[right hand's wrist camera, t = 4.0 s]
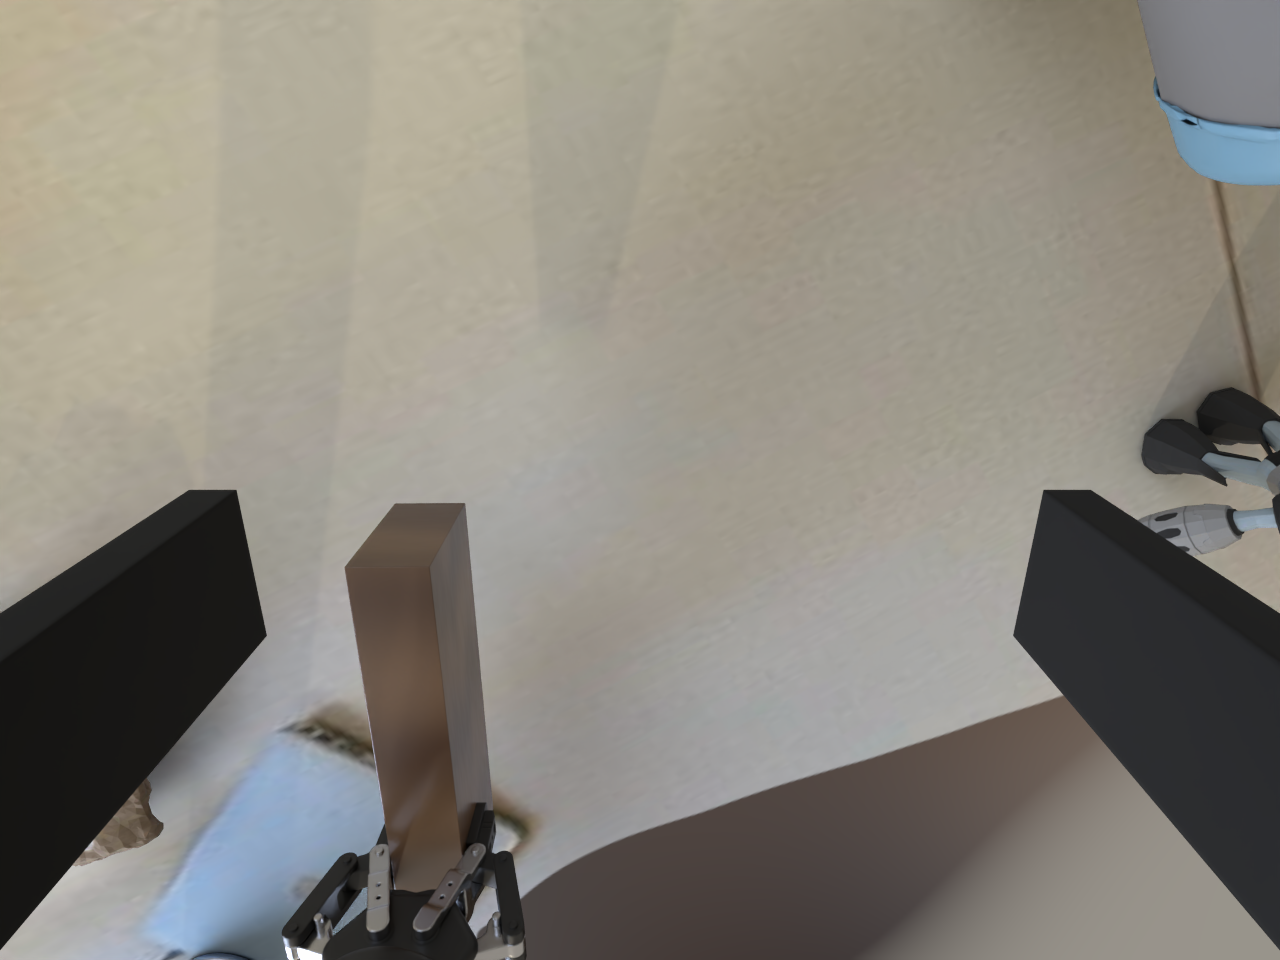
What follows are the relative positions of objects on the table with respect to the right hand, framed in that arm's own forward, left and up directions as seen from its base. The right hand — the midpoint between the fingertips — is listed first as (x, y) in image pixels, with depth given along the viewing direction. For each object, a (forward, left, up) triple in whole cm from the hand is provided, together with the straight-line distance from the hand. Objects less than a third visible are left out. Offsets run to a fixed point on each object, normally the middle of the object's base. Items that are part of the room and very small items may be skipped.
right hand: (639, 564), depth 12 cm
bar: (+19, +21, -33) cm, 43 cm away
